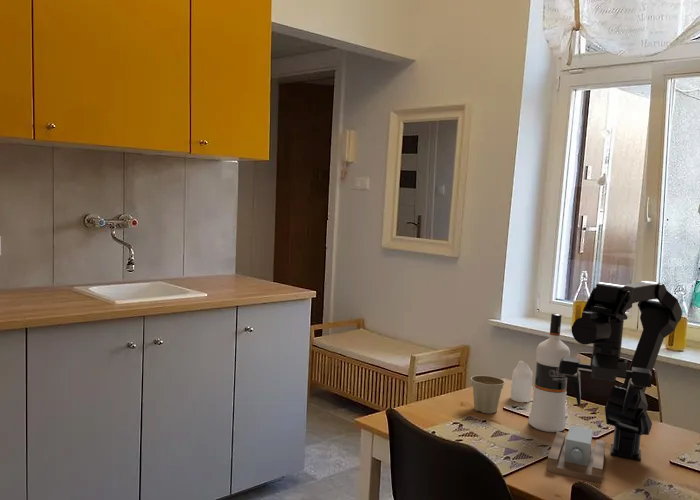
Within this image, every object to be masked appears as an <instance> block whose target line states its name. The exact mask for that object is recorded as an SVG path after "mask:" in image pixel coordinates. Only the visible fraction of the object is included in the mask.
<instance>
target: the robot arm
mask: <svg viewBox="0 0 700 500" xmlns="http://www.w3.org/2000/svg"><path fill="white" fill-rule="evenodd" d="M635 303H637V307H638V310H639V311H640V316H639V321H640V323H641V326H642V332H641V335H640V337H639V339H638V340H639V341H638V342H637V346H636V348H635V351H634V354H633V357H632V359H631V362H630V364H629V368H628V359H622V358H621V354H622V352H621V351H622V344H623V343H622V341H623V333H624V322H625V321H626V320H628V318H629V317H628V315H627V314H626V312H627V311H628V310H629V309H632V308H633V304H635ZM682 316H683V309H682V307H681V305H680V301H679V300H678V298H677V297H675V296H674V295H673V294H671V292H669V290H667V287H666V286H665V284H664V283H663V282H660V281H659V282H658V281H652V280H641V281H640V282H633V283H628V284H616V283H610V282H603V281H600V282H597V283H596V285H595V286H594V287H593V289H592V290H591V293H590V294H589V297H588V299H587V301H586V303H585V305H584V307H583V309H582V312H581V317H579V318H576V320H574V322H573V323H572V326H571V334H572V337H573V338H574V340H575V341H576V342H577V343H579V344H581V345H583V346H584V345H592V351H591V352H592V353H591V356H590V364H589V363H582V362H580V361H581V359H580V358H576V357H572V356H570V357H563V358H562V359H561V361H560V364H559V373H563V374H565V377H566V378H567V379H569V381H570V382H571V384H572V387H573V390H574V395H575V399H576V402H577V406H578V407H579V406H580V407H581V399H582V391H581V387H582V384H581V373H587V374H591V375H590V377H591V379H593V380H596V381H598V380H601V381H607V382H609V383H614V382H616V381H617V380H616V379H617V378H618V379H624V382H623V383H622V384H621V385H619V386H617V385H614V386H613V387H612V388H611V391H610V394H609V397H608V399H607V400H606V403H605V404H604V405H605V406H604V413H605V422H606V425H609V426H613V427H614V431H613V432H614V433H613V441H612V443H611V444H610V453H609V454H610V455H612V456H616V457H622V458H625V459H631V460H636V461H642V454H641V453H642V449H640V447H641V446H640V445H641V436H643V435H644V436H649V435H650V432H651V429H652V426H653V422H652V420H651V419H650V416H649V414H648V407H649V405H648V402H647V397H646V393H645V392H646V390H647V388H652V383H653V382H652V381H653V374H652V372H653V370H654V368H655V365H656V361H657V359H658V356H659V353H660V350H661V347H662V344H663V342H664V339H665V338H666V337H668V336H669V335H670V334H672V333H673V332H674V331H675V330H676V328H677V326H678V324H679V323H680V322H681V320H682ZM627 368H628V369H627Z"/></svg>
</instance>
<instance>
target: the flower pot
mask: <svg viewBox="0 0 700 500" xmlns="http://www.w3.org/2000/svg"><path fill="white" fill-rule="evenodd" d="M470 381H471V385H472V389H473V390H472V391H473V392H472V393H473V405H474V406H473V407H474V410H475V411H476V412H481V413H483V414H494V413H497V412H498V408H499V403H500V398H501V392H502V390H503V389H504V386H505V384H506V381H505V380H504V379H502V378H499V377H497V376H492V375H481V374H480V375H479V374H478V375H473V376H471V377H470Z"/></svg>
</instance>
